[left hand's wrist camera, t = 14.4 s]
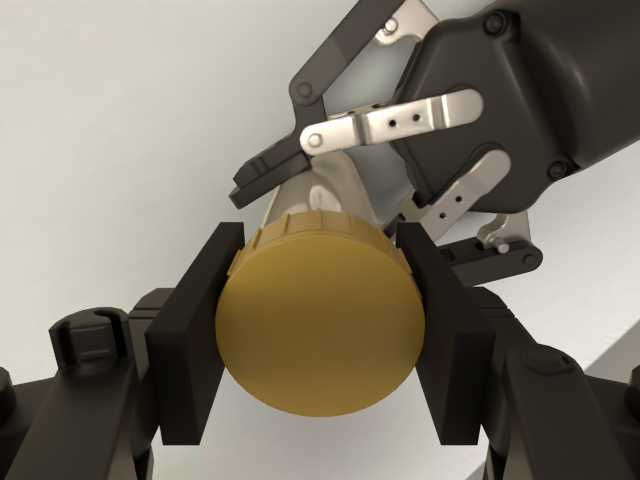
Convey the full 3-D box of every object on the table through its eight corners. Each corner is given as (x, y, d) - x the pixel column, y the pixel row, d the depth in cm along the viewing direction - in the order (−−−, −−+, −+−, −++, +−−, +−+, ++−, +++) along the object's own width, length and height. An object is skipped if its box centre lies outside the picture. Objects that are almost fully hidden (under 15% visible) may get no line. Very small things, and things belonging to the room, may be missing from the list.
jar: (314, 126, 24) (306, 198, 10) (375, 178, 25) (449, 310, 11) (264, 189, 25) (193, 333, 11) (325, 236, 26) (331, 422, 12)
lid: (196, 242, 12) (173, 274, 10) (381, 178, 11) (394, 199, 9) (268, 390, 13) (260, 440, 11) (432, 341, 13) (451, 387, 11)
